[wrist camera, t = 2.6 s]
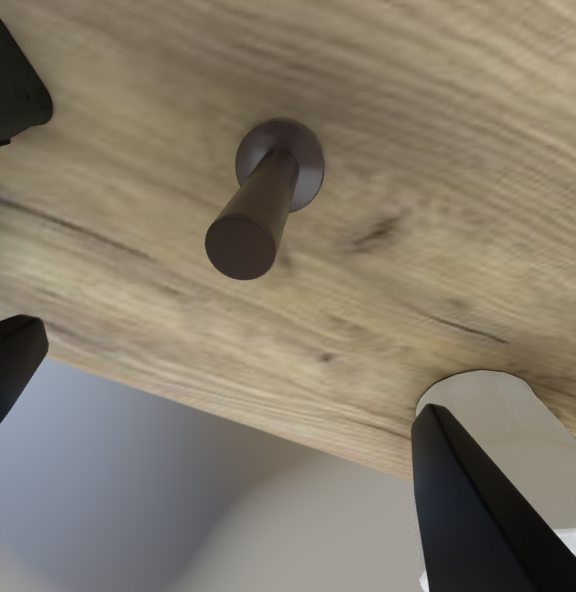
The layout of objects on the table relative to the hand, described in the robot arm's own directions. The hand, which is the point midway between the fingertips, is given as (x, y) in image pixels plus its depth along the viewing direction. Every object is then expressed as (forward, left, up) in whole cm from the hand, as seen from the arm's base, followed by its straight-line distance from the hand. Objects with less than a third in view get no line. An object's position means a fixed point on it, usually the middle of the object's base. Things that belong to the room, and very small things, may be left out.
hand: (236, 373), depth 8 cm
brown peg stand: (+1, -2, -13) cm, 13 cm away
